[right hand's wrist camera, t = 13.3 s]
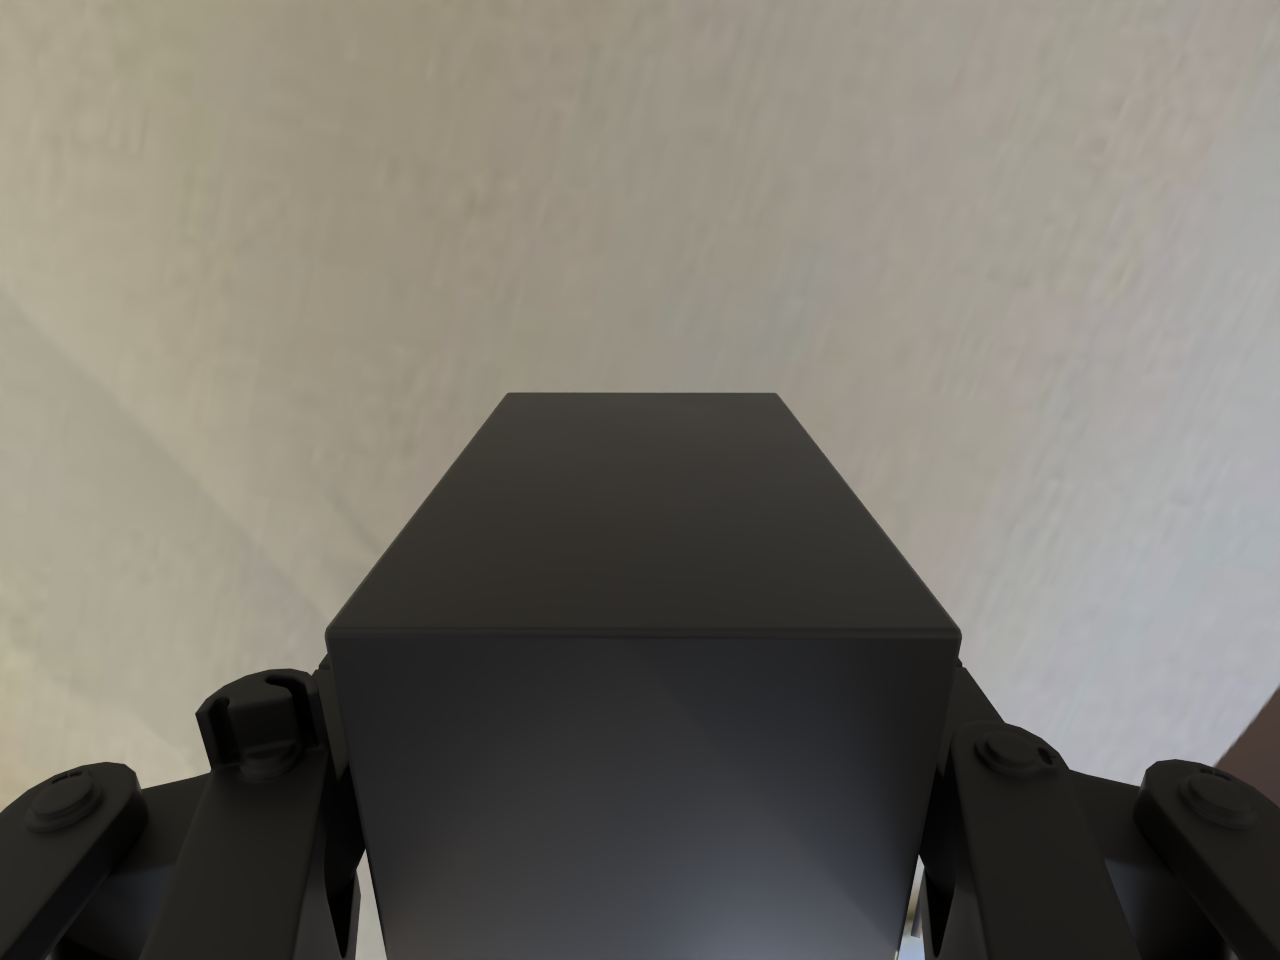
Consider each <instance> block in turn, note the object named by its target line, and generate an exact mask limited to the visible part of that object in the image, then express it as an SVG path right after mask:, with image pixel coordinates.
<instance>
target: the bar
mask: <svg viewBox="0 0 1280 960" xmlns="http://www.w3.org/2000/svg"><path fill="white" fill-rule="evenodd" d="M961 640H962V634H961V631H960V629H959V627H958V626H957V625H956V623H955V622H954V621H953V620H952V618H951V617H950V616H949V614H948V613H947V612H946V611H945V609H944V608H943V607H942V605H941V604H940V603H939V602H938V600H937V599H936V598H935V596H934V595H933V594H932V592H931V591H930V590H929V589H928V587H927V586H926V585H925V583H924V582H923V581H922V580H921V578H920V577H919V576H918V574H917V573H916V572H915V571H914V569H913V568H912V567H911V565H910V564H909V563H908V562H907V560H906V559H905V558H904V556H903V555H902V554H901V553H900V551H899V550H898V549H897V547H896V546H895V545H894V544H893V542H892V541H891V540H890V538H889V537H888V536H887V535H886V533H885V532H884V531H883V529H882V528H881V527H880V526H879V524H878V523H877V522H876V520H875V519H874V518H873V517H872V515H871V514H870V513H869V511H868V510H867V509H866V508H865V506H864V505H863V504H862V502H861V501H860V500H859V499H858V497H857V496H856V495H855V493H854V492H853V491H852V490H851V488H850V487H849V486H848V484H847V483H846V482H845V481H844V479H843V478H842V477H841V475H840V474H839V473H838V472H837V470H836V469H835V468H834V466H833V465H832V464H831V463H830V461H829V460H828V459H827V457H826V456H825V455H824V454H823V452H822V451H821V450H820V448H819V447H818V446H817V444H816V443H815V442H814V441H813V439H812V438H811V437H810V435H809V434H808V433H807V432H806V430H805V429H804V428H803V426H802V425H801V424H800V423H799V421H798V420H797V419H796V417H795V416H794V415H793V414H792V412H791V411H790V410H789V408H788V407H787V406H786V405H785V403H784V402H783V401H782V399H781V398H780V397H779V396H778V394H776V393H507V394H506V396H505V397H504V398H503V399H502V401H501V402H500V403H499V405H498V406H497V407H496V409H495V410H494V411H493V412H492V414H491V415H490V416H489V418H488V419H487V420H486V422H485V423H484V424H483V425H482V427H481V428H480V429H479V431H478V432H477V433H476V435H475V436H474V437H473V438H472V440H471V441H470V442H469V444H468V445H467V446H466V448H465V449H464V450H463V451H462V453H461V454H460V455H459V457H458V458H457V459H456V461H455V462H454V463H453V464H452V466H451V467H450V468H449V470H448V471H447V472H446V473H445V475H444V476H443V477H442V479H441V480H440V481H439V483H438V484H437V485H436V486H435V488H434V489H433V490H432V492H431V493H430V494H429V496H428V497H427V498H426V499H425V501H424V502H423V503H422V505H421V506H420V507H419V509H418V510H417V511H416V512H415V514H414V515H413V516H412V518H411V519H410V520H409V522H408V523H407V524H406V525H405V527H404V528H403V529H402V531H401V532H400V533H399V535H398V536H397V537H396V538H395V540H394V541H393V542H392V544H391V545H390V546H389V548H388V549H387V550H386V551H385V553H384V554H383V555H382V557H381V558H380V559H379V561H378V562H377V563H376V564H375V566H374V567H373V568H372V570H371V571H370V572H369V574H368V575H367V576H366V577H365V579H364V580H363V581H362V583H361V584H360V585H359V587H358V588H357V589H356V590H355V592H354V593H353V594H352V596H351V597H350V598H349V600H348V601H347V602H346V603H345V605H344V606H343V607H342V609H341V610H340V611H339V613H338V614H337V615H336V616H335V618H334V619H333V620H332V622H331V623H330V624H329V626H328V627H327V628H326V631H325V641H326V646H327V652H328V657H329V662H330V667H331V672H332V677H333V683H334V688H335V693H336V698H337V703H338V708H339V714H340V719H341V724H342V729H343V734H344V739H345V745H346V750H347V755H348V760H349V765H350V770H351V776H352V781H353V786H354V791H355V796H356V801H357V807H358V812H359V817H360V822H361V827H362V832H363V837H364V843H365V848H366V853H367V858H368V863H369V868H370V874H371V879H372V884H373V889H374V894H375V899H376V905H377V910H378V915H379V920H380V925H381V930H382V936H383V941H384V946H385V951H386V956H387V960H898V955H899V950H900V945H901V940H902V935H903V930H904V925H905V920H906V915H907V910H908V905H909V900H910V895H911V890H912V885H913V880H914V875H915V870H916V865H917V860H918V855H919V850H920V845H921V840H922V835H923V830H924V825H925V820H926V815H927V810H928V805H929V800H930V795H931V790H932V785H933V780H934V775H935V770H936V765H937V760H938V755H939V750H940V745H941V740H942V735H943V730H944V725H945V720H946V715H947V710H948V705H949V700H950V695H951V690H952V685H953V680H954V675H955V670H956V665H957V660H958V655H959V650H960V645H961Z"/></svg>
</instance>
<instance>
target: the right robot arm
mask: <svg viewBox="0 0 1280 960" xmlns="http://www.w3.org/2000/svg"><path fill="white" fill-rule="evenodd" d="M195 715H196V718H197V722H198V725H199V728H200V732H201V735H202V739H203V742H204V745H205V749H206V752H207V756H208V759H209V762H210V766H211V771H210V773H207V774H204V775H200V776H197V777H193V778H189V779H184V780H180V781H176V782H171V783H167V784H163V785H158V786H154V787H150V788H145V789H141V787H140V784H139V781H138V779H137V776H136V773H135V772H134V771H133V770H132V769H130V768H129V767H128V766H126V765H125V764H119V763H111V762H102V763H96V764H89V765H83V766H80V767H77V768H74V769H71V770H68V771H65V772H63V773H60V774H57V775H54V776H53V777H51V778H49V779H47V780H45V781H44V782H42V783H40V784H38V785H36V786H34V787H33V788H31V789H29V790H27V791H26V792H25V793H24V794H22V795H21V796H20V797H19V798H17V799H16V800H15V801H14V802H12V803H11V804H10V805H9V806H7V807H6V808H5V809H4V810H3V811H2V812H1V813H0V960H355V954H356V943H357V932H358V921H359V910H360V899H361V893H360V887H359V881H358V876H357V871H356V869H357V867H358V864H359V862H360V860H361V858H362V855H363V853H364V851H365V843H364V837H363V832H362V827H361V822H360V817H359V812H358V807H357V801H356V796H355V791H354V786H353V781H352V776H351V770H350V765H349V760H348V755H347V750H346V745H345V739H344V734H343V729H342V724H341V719H340V714H339V708H338V703H337V698H336V693H335V688H334V683H333V677H332V672H331V667H330V662H329V657H328V653H327V655H326V656H325V658H324V659H323V660H322V662H321V663H320V665H319V669H318V670H315V672H314V673H313V674H312V676H311V675H310V674H308V673H307V672H304V671H299V670H295V669H272V670H266V671H262V672H258V673H254V674H251V675H247V676H244V677H242V678H240V679H238V680H236V681H234V682H231V683H229V684H227V685H225V686H223V687H222V688H221V689H219V690H218V691H216V692H215V693H214V694H212V695H211V696H210V697H208V698H207V699H206V700H205V701H204V703H203V704H202V705H201V707H200V708H199V709H198V711H197V712H196V713H195ZM919 855H920V858H921V860H922V862H923V864H924V871H923V876H922V881H921V885H920V890H919V895H918V900H917V904H916V909H915V914H914V919H913V925H912V931H911V936H914V937H918V938H920V934H921V930H923V941H924V952H925V960H1236V959H1237V957H1238V958H1239V960H1280V808H1279V807H1278V806H1277V805H1276V804H1274V803H1273V802H1272V801H1271V800H1269V799H1268V798H1267V797H1266V796H1264V795H1263V794H1262V793H1260V792H1259V791H1258V790H1257V789H1255V788H1254V787H1253V786H1251V785H1249V784H1247V783H1245V782H1243V781H1242V780H1240V779H1238V778H1236V777H1234V776H1232V775H1230V774H1229V773H1227V772H1224V771H1221V770H1219V769H1216V768H1213V767H1210V766H1207V765H1204V764H1201V763H1197V762H1190V761H1184V760H1178V759H1173V760H1165V761H1157V762H1156V763H1154V764H1153V765H1152V766H1150V767H1149V768H1148V769H1147V770H1146V772H1145V775H1144V778H1143V780H1142V783H1141V786H1140V787H1139V786H1134V785H1130V784H1126V783H1121V782H1117V781H1113V780H1108V779H1104V778H1099V777H1095V776H1091V775H1086V774H1083V773H1080V772H1076V771H1073V770H1070V769H1069V768H1068V766H1067V765H1066V763H1065V762H1064V760H1063V759H1062V757H1061V755H1060V754H1059V752H1057V751H1056V750H1055V749H1054V748H1053V747H1051V746H1050V745H1049V744H1048V743H1047V742H1045V741H1044V740H1043V739H1042V738H1040V737H1038V736H1036V735H1034V734H1032V733H1030V732H1028V731H1026V730H1025V729H1023V728H1021V727H1017V726H1014V725H1010V724H1007V723H1005V722H1004V721H1003V719H1002V718H1001V717H1000V715H999V714H998V712H997V711H996V710H995V708H994V707H993V705H992V704H991V703H990V701H989V700H988V698H987V697H986V696H985V694H984V693H983V692H982V690H981V689H980V687H979V686H978V685H977V683H976V682H975V680H974V679H973V678H972V676H971V675H970V673H969V672H968V671H967V669H966V668H963V667H962V662H961V661H960V659H959V658H958V660H957V665H956V670H955V675H954V680H953V685H952V690H951V695H950V700H949V705H948V710H947V715H946V720H945V725H944V730H943V735H942V740H941V745H940V750H939V755H938V760H937V765H936V770H935V775H934V780H933V785H932V790H931V795H930V800H929V805H928V810H927V815H926V820H925V825H924V830H923V835H922V840H921V845H920V850H919Z"/></svg>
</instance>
